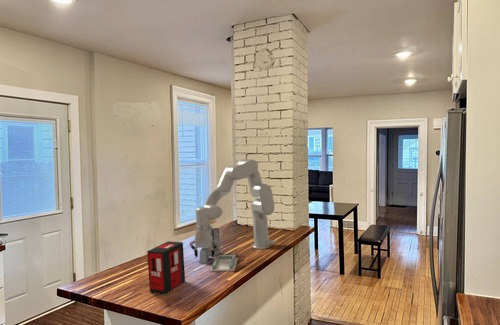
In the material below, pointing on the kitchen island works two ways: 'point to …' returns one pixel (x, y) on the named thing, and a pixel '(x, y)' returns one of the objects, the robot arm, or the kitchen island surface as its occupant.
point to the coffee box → (215, 237)
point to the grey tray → (224, 263)
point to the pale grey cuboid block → (204, 255)
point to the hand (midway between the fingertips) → (204, 256)
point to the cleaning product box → (166, 267)
